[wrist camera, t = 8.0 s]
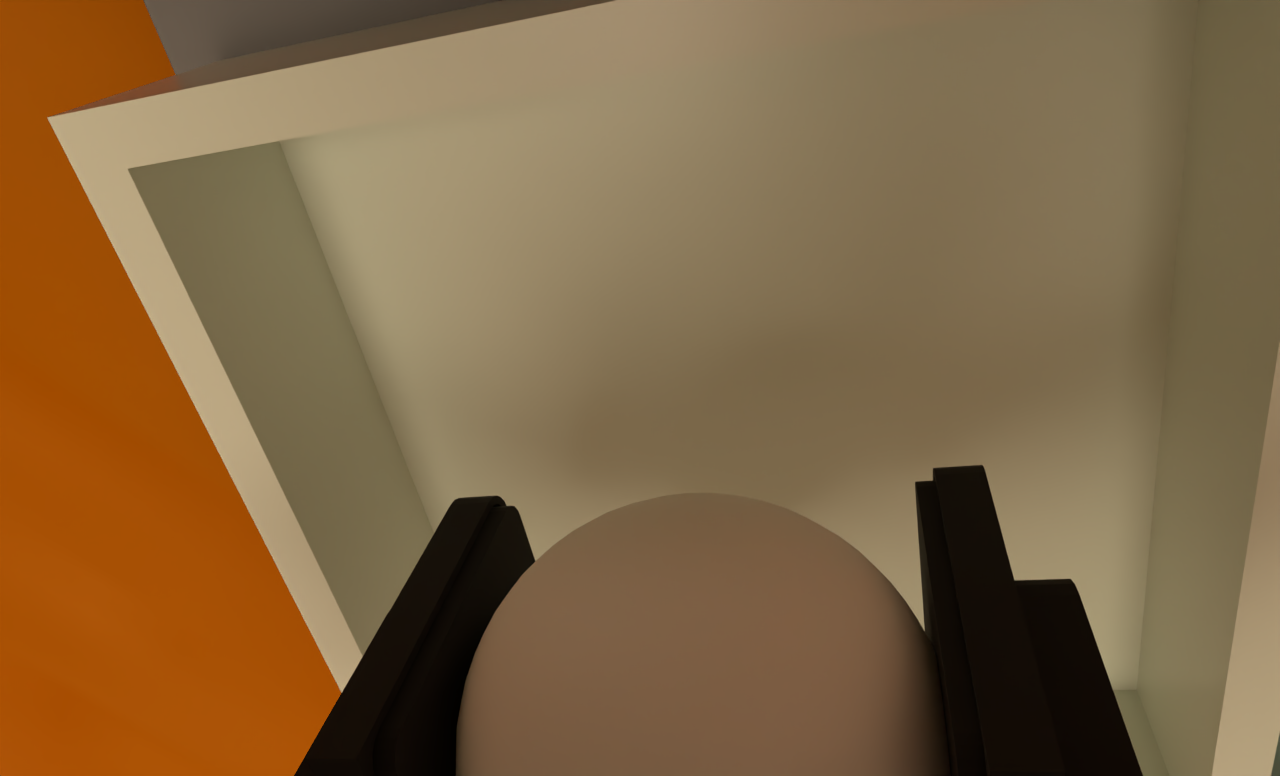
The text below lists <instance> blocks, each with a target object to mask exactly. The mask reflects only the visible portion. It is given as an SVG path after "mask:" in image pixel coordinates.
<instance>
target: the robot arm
mask: <svg viewBox="0 0 1280 776" xmlns="http://www.w3.org/2000/svg"><path fill="white" fill-rule="evenodd" d="M915 494H916V509H917V524H918V539H919V554H920V569H921V583H922V598H923V613H924V628H925V633H926V635H927V637H928V638H929V640H930V642H931V644H932V646H933V649H934V651H935V655H936V659H937V666H938V672H939V678H940V685H941V693H942V700H943V708H944V716H945V725H946V734H947V743H948V752H949V762H950V773H951V776H1143V774H1142V771H1141V768H1140V766H1139V763H1138V760H1137V757H1136V754H1135V751H1134V748H1133V746H1132V743H1131V740H1130V737H1129V734H1128V731H1127V729H1126V726H1125V723H1124V720H1123V717H1122V714H1121V711H1120V709H1119V706H1118V703H1117V700H1116V697H1115V694H1114V691H1113V689H1112V686H1111V683H1110V680H1109V677H1108V674H1107V671H1106V669H1105V666H1104V663H1103V660H1102V657H1101V654H1100V651H1099V649H1098V646H1097V643H1096V640H1095V637H1094V634H1093V631H1092V629H1091V626H1090V623H1089V620H1088V617H1087V614H1086V611H1085V609H1084V606H1083V603H1082V600H1081V597H1080V594H1079V592H1078V590H1077V587H1076V585H1075V583H1074V582H1073V581H1072V580H1071V579H1044V580H1014V577H1013V573H1012V569H1011V566H1010V562H1009V558H1008V554H1007V551H1006V547H1005V543H1004V539H1003V536H1002V532H1001V528H1000V524H999V521H998V517H997V513H996V509H995V506H994V502H993V498H992V494H991V491H990V487H989V483H988V479H987V476H986V472H985V469H984V466H983V465H971V466H955V467H939V468H933V480H932V481H916V482H915ZM534 562H535V558H534V555H533V552H532V549H531V546H530V543H529V540H528V537H527V534H526V531H525V528H524V525H523V522H522V519H521V516H520V514H519V511H518V510H517V508H516V507H515V506H506V503H505V501H504V500H503V499H502V498H501V497H500V496H497V495H496V496H480V497H464V498H458V499H455V500H454V501H453V502H452V504H451V505H450V507H449V508H448V510H447V512H446V514H445V515H444V517H443V519H442V521H441V522H440V524H439V526H438V528H437V529H436V531H435V533H434V535H433V536H432V538H431V540H430V541H429V543H428V545H427V547H426V548H425V550H424V552H423V554H422V555H421V557H420V559H419V561H418V562H417V564H416V566H415V568H414V569H413V571H412V573H411V575H410V576H409V578H408V580H407V582H406V583H405V585H404V587H403V589H402V590H401V592H400V594H399V595H398V597H397V599H396V601H395V602H394V604H393V606H392V608H391V609H390V611H389V612H388V614H387V615H386V617H385V619H384V620H383V622H382V624H381V626H380V627H379V629H378V631H377V632H376V634H375V636H374V638H373V639H372V641H371V643H370V645H369V646H368V648H367V650H366V652H365V653H364V655H363V657H362V659H361V660H360V662H359V664H358V666H357V667H356V669H355V671H354V672H353V674H352V676H351V678H350V679H349V681H348V683H347V685H346V686H345V688H344V690H343V692H342V693H341V695H340V697H339V699H338V700H337V702H336V704H335V705H334V707H333V709H332V711H331V712H330V714H329V716H328V718H327V719H326V721H325V723H324V725H323V726H322V728H321V730H320V732H319V733H318V735H317V737H316V739H315V740H314V742H313V744H312V745H311V747H310V749H309V751H308V752H307V754H306V756H305V758H304V759H303V761H302V763H301V765H300V766H299V768H298V770H297V772H296V773H295V775H294V776H456V732H457V722H458V716H459V711H460V705H461V699H462V695H463V690H464V686H465V681H466V678H467V675H468V672H469V669H470V666H471V663H472V660H473V657H474V654H475V652H476V649H477V647H478V645H479V643H480V640H481V638H482V636H483V634H484V632H485V630H486V628H487V626H488V624H489V622H490V621H491V619H492V617H493V615H494V613H495V611H496V610H497V608H498V607H499V605H500V604H501V603H502V601H503V600H504V598H505V597H506V595H507V594H508V593H509V591H510V590H511V589H512V587H513V586H514V585H515V584H516V582H517V581H518V580H519V578H520V577H521V576H522V574H523V573H524V572H525V571H526V570H527V569H528V568H529V567H530V566H531V565H532V564H533V563H534Z"/></svg>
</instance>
